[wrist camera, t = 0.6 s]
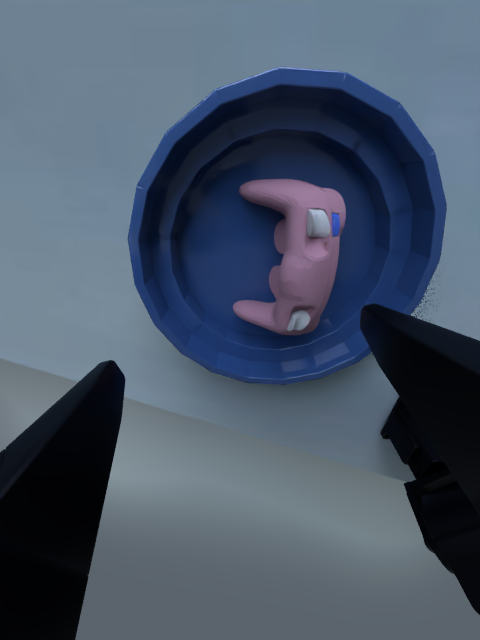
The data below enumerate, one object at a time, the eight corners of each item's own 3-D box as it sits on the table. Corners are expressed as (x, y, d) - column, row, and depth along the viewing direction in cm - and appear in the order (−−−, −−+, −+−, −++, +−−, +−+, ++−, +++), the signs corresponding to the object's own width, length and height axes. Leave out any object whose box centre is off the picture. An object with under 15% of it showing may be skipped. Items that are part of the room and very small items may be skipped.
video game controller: (274, 304, 23) (330, 347, 17) (227, 313, 21) (274, 363, 16) (292, 179, 18) (377, 184, 13) (233, 174, 16) (304, 179, 11)
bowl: (447, 108, 15) (519, 84, 11) (358, 355, 24) (380, 390, 20) (136, 84, 15) (98, 51, 11) (164, 344, 24) (149, 378, 20)
